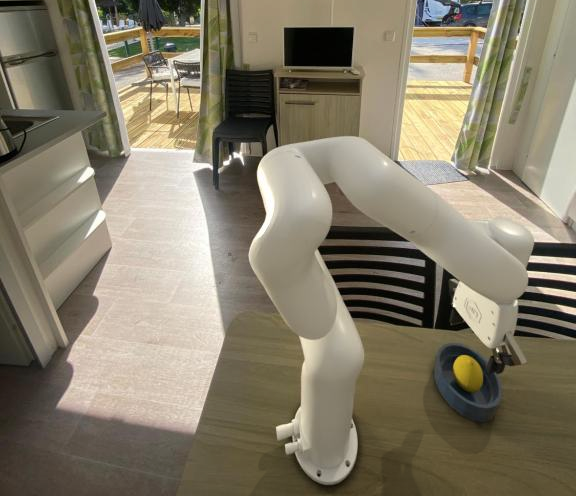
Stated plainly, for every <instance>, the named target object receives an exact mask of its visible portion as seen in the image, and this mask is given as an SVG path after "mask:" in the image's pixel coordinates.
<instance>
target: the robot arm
mask: <svg viewBox="0 0 576 496" xmlns="http://www.w3.org/2000/svg"><path fill="white" fill-rule="evenodd" d="M256 180H257V185H258V188H259V192H260V195H261V198H262V202H263V206H264V209H265V213H266V214H265V219H264V222H263V224H262V226H261V227H260V228H259V230H258V232H257V233H256V234H255V236H254V238H253V239H252V242H251V244H250V247H249V251H248V260H249V264H250V267H251V269H252V271H253V272H254V274H255V276H256V277H257V279H258V280H259V282H260V283H261V285H262V286H263V289H264V290H265V292H266V294H267V295H268V297H269V299H270V300H271V302H272V303H273V305H274V306H275V308H276V310H277V312H278V313H279V314H280V317H281V318H282V320H283V321H284V322H285V324H286V326H288V328H289V329H290V330H291V331H292V332H293V333H295V335H297V336H298V338H299V340H300V344H301V349H302V352H303V358H304V360H303V362H302V367H301V373H300V374H301V375H300V387H301V388H300V406H299V408H298V409H297V411H296V413H295V416H294V418H293V419H291V422H289V423H286V424H280V425H277V426H275V431H276V432H275V433H276V439H277V440H276V441H277V442H279V441H283V440H286V439H288V438H290V437H292V442H291V441H290V442H288V443H285V444H284V449H285V455H286V456H289V455H292V454H295V457H296V460H297V463H299V466H300V468H301V469H302V470H303V472H304V473H305V475H307V476H308V477H309V478H310V479H311V480H313V481H314V482H316V483H318V484H319V485H323V486H324V485H325V486H333V485H336V484H339V483H341V482H342V481H344V480H345V479H346V478H347V477H348V476H349V475H350V474H351V472H352V470H353V468H354V467H355V464H356V460H357V454H358V446H359V445H358V444H359V441H358V433H357V429H356V428H357V427H356V425H355V423H354V420H353V411H354V402H355V393H356V385H357V380H358V378H359V376H360V373H361V372H362V369H363V366H364V363H365V349H364V345H363V342H362V339H361V335H360V333H359V331H358V329H357V326H356V324H355V321H354V319H353V317H352V316H351V313H350V312H349V310H348V307H347V305H346V304H345V302H344V300H343V297H342V296H341V293H340V291H339V289H338V287H337V285H336V282H335V280H334V278H333V276H332V275H331V272H330V271H329V269H328V267H327V265H326V263H325V260H324V259H323V257H322V255H321V253H320V251H319V249H318V248H319V247H320V246H321V245H322V243H323V242H324V241H325V240H326V238H327V236H328V234H329V232H330V229H331V227H332V223H333V222H332V221H333V204H332V200H331V197H330V195H329V193H328V190H327V189H326V187H325V185H328V184H332V183H335V184H336V186H338V188H339V189H340V190H341V192H342V193H343V195H344V196H345V197H346V198H347V200H348V201H349V202H350V204H352V205H353V206H354V207H355V208H356V209H357V210H358V211H360V212H361V213H363V214H364V215H365V216H367V217H368V218H370V219H372V220H374V221H375V222H377V223H379V224H380V225H382V226H384V227H386V228H387V229H389V230H390V231H392V232H394V233H396V234H397V235H399V236H400V237H402V238H404V239H405V240H407V241H408V242H410V243H411V244H412V245H414V247H416V248H417V249H418V250H419V251H420V252H421V253H423V254H424V255H425V256H426V257H428V258H429V259H430V260H432V261H433V262H435V263H436V264H437V265H439V266H440V267H442V269H444V270H446V272H448V273H449V274H451V275H452V276H453V277H454V278H450V279H448V280H447V281H448V288H449V290H448V293H449V296H450V299H451V301H450V305H451V307H452V308H451V313H450V317H449V320H448V322H449V323H450V325H456V324H457V325H458V324H461V323H464V322H465V323H466V324H467V326H468V327H469V328H470V329H471V330H472V331H473V333H474V334H475V335H476V337H477V338H478V339H479V340H480V341H481V342H482V344H483V345H485V346H486V347H487V348H489V349H491V352H492V355H490V356H489V359H488V365H487V367H486V371H487V372H488V373H489V374H491V373H495V372H496V373H497V375H499V374H502V373H504V371H505V368H506V366H508V367H516V366H522V365H526V364H528V361H527V358H526V356H525V355H524V353H523V351H522V350H521V348H520V346H519V345H518V342H517V341H516V340H515V337H514V336H515V335H514V334H515V332H516V327H517V323H518V322H517V321H518V316H519V301H518V300H517V299H519V298H520V297H521V296H523V294H524V293H525V292H526V290H527V288H528V285H529V273H528V270H527V267H528V264H529V261H530V259H531V255H532V253H533V250H534V246H535V239H534V236H533V234H532V232H531V231H530V230H529V229H528V228H527V227H526V226H524V225H523V224H521V223H520V222H518V221H515V220H513V219H510V218H507V217H504V216H503V217H502V216H492V217H489V218H487V219H476V218H475V219H474V218H466V217H465V216H464V215H463V214H462V213H461V212H459V210H457V209H456V208H455V207H454V206H453V205H451V203H449V202H448V201H446V200H445V198H443V197H442V196H441V195H439V194H438V193H436V191H434V190H432V189H431V188H430V187H428V186H427V185H426V184H425V183H423V182H422V181H420V180H419V179H418V178H416V177H415V176H413V174H412V173H410V172H408V171H407V170H406V169H404V168H403V167H402V166H400V165H399V164H398V163H397V162H395V161H394V160H393V159H391V158H390V157H388V156H387V155H386V154H384V153H383V152H382V151H381V150H379V149H378V148H377V147H375V146H374V144H373V143H372V144H371V142H369V141H368V140H367V139H365V138H363V137H360V136H355V135H343V136H333V137H327V138H326V137H325V138H319V139H314V140H307V141H301V142H295V143H289V144H284V145H281V146H277V147H275V148H273V149H271V150H270V151H268V152H267V153H266V154H265V155H264V156H263V157H262V158H261V159H260V161H259V164H258V165H257V170H256ZM499 347H500V348H501V350H502V351H501V352H500V350H499ZM318 475H319V476H318Z"/></svg>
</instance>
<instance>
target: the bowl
mask: <svg viewBox="0 0 576 496" xmlns="http://www.w3.org/2000/svg"><path fill="white" fill-rule="evenodd" d="M461 355H467V356H470V357H472V358H473V359H474V360H475V361H477V363H478V364H479V366H480V367H481V370H482V373H483V383H482V387H481V388H480V389H479V391H477V392H474V393H471V392H467V391H465V390H464V389H462V388H461V387H460V386H459V385H458V383H457V382H456V380H455V377H454V374H453V365H454V362H455V360H456V359H457V358H458V357H459V356H461ZM488 362H489V360H488V359H486V358H485V357H484V356H483V355H482V354H481V353H479V352H478V351H477V350H475V349H474V348H472V347H470V346H468V345H466V344H462V343H459V342H447V343H445V344H443V345H442V346H441V347H439V348H438V351H437V354H436V358H435V362H434V366H433V378H434V382H435V385H436V388H437V389H438V391H439V393H440V394H441V397H442V398H443V400H444V401H445V402H446V403H447V404H448V405H449V406H450V407H451V408H452V409H453V410H454V411H455V412H457V413H458V414H459V415H461V416H462V417H464V418H467V419H469V420H471V421H474V422H481V423H485V422H488V421H490V420H492V419H493V418H494V417H495V416H496V415H497V412H498V410H499V406H500V404H501V401H502V396H503V387H502V382H501V379H500V377H499V374H497V373H496V372H495V373H491V374H489V373H488V372H487V371H486V367H487V365H488Z"/></svg>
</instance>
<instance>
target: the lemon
mask: <svg viewBox="0 0 576 496" xmlns="http://www.w3.org/2000/svg"><path fill="white" fill-rule="evenodd" d="M453 374H454V377H455V380H456V382H457V383H458V385H459V386H460V387H461V388H462V389H464V390H465V391H467V392H471V393H474V392H477V391H479V389H480V388H481V387H482V383H483V373H482V370H481V367H480V366H479V364H478V363H477V361H475V360H474V359H473V358H472V357H470V356H467V355H461V356H459V357H458V358H457V359H456V360H455V362H454V365H453Z"/></svg>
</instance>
